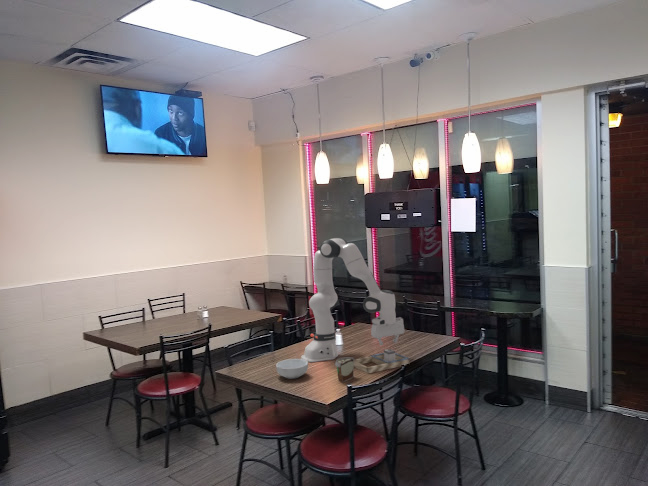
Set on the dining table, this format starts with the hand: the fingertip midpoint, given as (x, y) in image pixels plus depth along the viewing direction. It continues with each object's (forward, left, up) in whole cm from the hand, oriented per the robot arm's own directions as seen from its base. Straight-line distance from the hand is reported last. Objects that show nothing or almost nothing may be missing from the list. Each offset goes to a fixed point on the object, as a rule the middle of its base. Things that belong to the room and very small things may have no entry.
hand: (388, 343), depth 270 cm
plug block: (0, 0, -11) cm, 11 cm away
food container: (-34, -8, -11) cm, 37 cm away
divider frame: (-6, 0, -11) cm, 12 cm away
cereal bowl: (-54, +11, -11) cm, 56 cm away
